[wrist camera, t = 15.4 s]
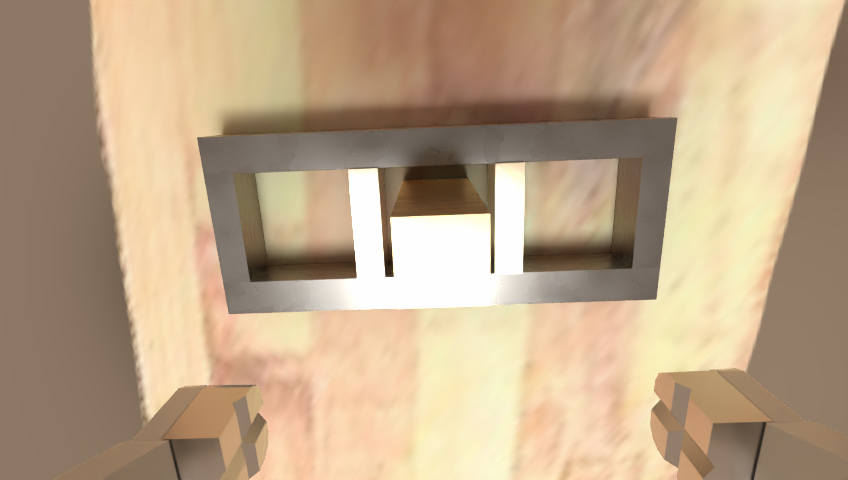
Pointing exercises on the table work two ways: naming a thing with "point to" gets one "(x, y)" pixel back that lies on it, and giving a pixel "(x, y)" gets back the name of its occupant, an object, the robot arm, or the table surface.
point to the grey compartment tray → (429, 146)
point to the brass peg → (440, 245)
